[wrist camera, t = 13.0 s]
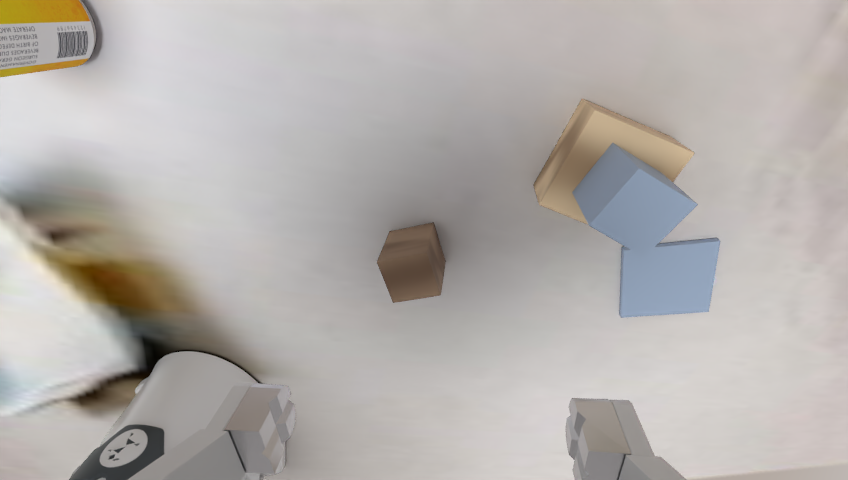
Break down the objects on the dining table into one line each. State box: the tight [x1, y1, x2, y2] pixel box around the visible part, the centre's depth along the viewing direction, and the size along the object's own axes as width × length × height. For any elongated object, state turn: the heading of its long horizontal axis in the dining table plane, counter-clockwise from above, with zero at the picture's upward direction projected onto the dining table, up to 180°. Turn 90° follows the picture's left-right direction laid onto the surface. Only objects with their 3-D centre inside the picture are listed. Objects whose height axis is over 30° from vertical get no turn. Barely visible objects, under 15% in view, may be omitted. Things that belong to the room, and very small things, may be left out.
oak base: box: [534, 99, 694, 225], centre depth 29 cm, size 7×7×4 cm
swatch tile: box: [619, 238, 720, 318], centre depth 34 cm, size 7×7×1 cm
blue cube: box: [572, 143, 698, 257], centre depth 25 cm, size 4×4×5 cm
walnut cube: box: [377, 222, 446, 303], centre depth 34 cm, size 4×4×5 cm
